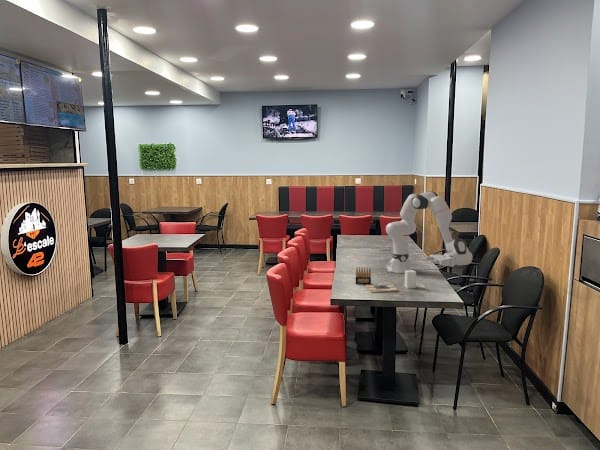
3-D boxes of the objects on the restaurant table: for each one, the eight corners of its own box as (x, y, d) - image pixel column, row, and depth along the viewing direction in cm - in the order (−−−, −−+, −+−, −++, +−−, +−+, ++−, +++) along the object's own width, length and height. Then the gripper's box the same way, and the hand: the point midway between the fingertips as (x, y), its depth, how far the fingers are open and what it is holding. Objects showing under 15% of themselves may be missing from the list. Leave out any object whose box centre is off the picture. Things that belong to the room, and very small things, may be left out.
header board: (365, 286, 304) (365, 284, 304) (391, 285, 306) (391, 283, 306) (371, 292, 288) (371, 291, 288) (398, 291, 290) (398, 290, 290)
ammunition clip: (355, 284, 310) (355, 267, 308) (355, 283, 312) (355, 266, 310) (371, 284, 308) (371, 267, 307) (371, 283, 310) (371, 267, 308)
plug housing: (404, 286, 302) (404, 270, 301) (413, 285, 303) (413, 270, 301) (407, 288, 297) (407, 272, 296) (415, 287, 298) (416, 271, 296)
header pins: (378, 287, 297) (378, 283, 297) (384, 287, 298) (384, 283, 297) (379, 287, 296) (379, 283, 296) (384, 287, 297) (384, 283, 296)
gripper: (441, 251, 310) (422, 252, 309) (454, 257, 290) (434, 258, 288) (441, 260, 311) (422, 261, 309) (454, 267, 291) (434, 268, 289)
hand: (428, 260), depth 299 cm, fingers open, 8 cm apart
